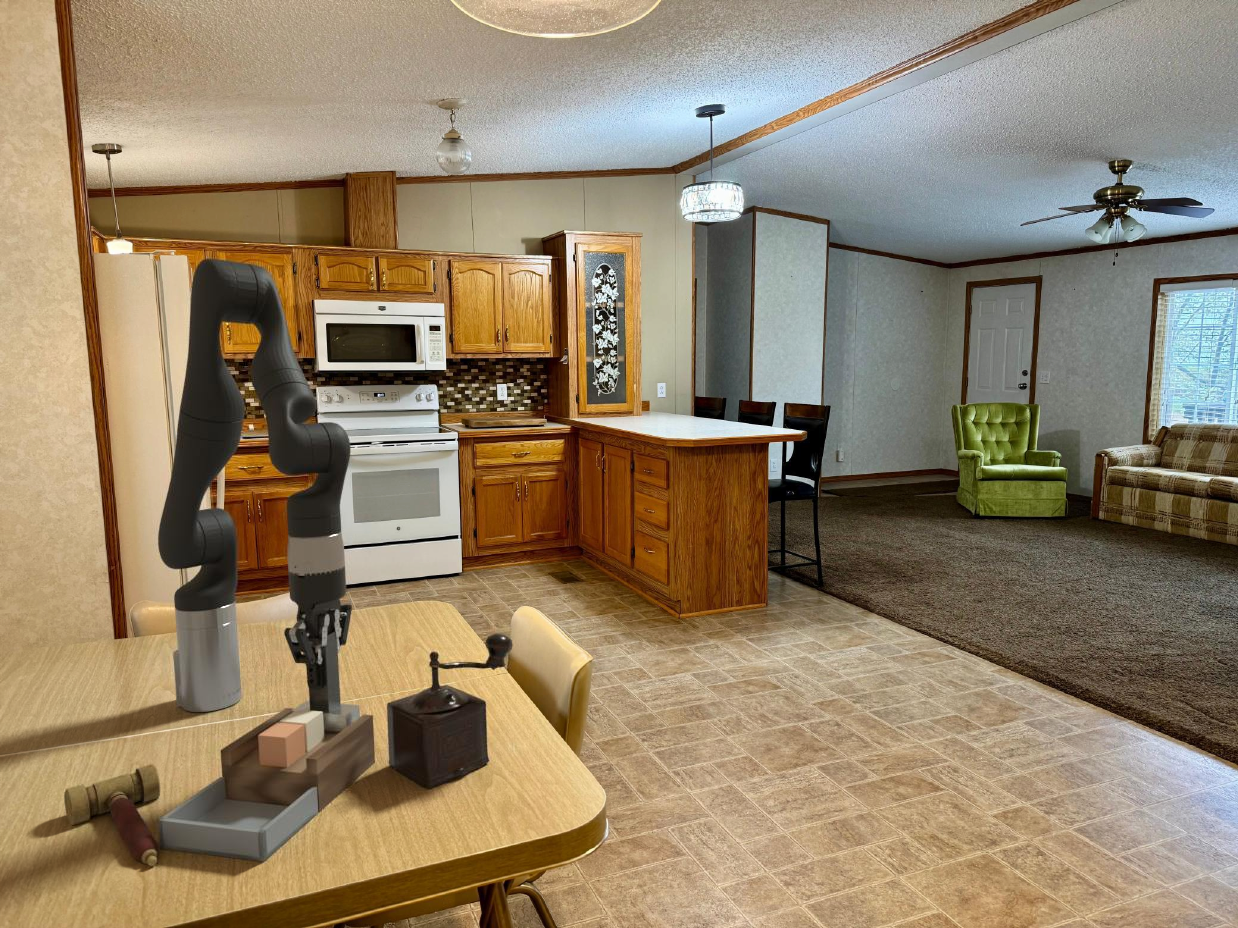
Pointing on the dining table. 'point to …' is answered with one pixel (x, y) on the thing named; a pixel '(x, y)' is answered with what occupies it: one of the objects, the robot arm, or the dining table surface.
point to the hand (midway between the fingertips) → (323, 683)
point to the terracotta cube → (281, 744)
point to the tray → (233, 824)
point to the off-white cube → (308, 726)
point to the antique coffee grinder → (442, 725)
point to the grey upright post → (330, 692)
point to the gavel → (119, 807)
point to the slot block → (298, 765)
